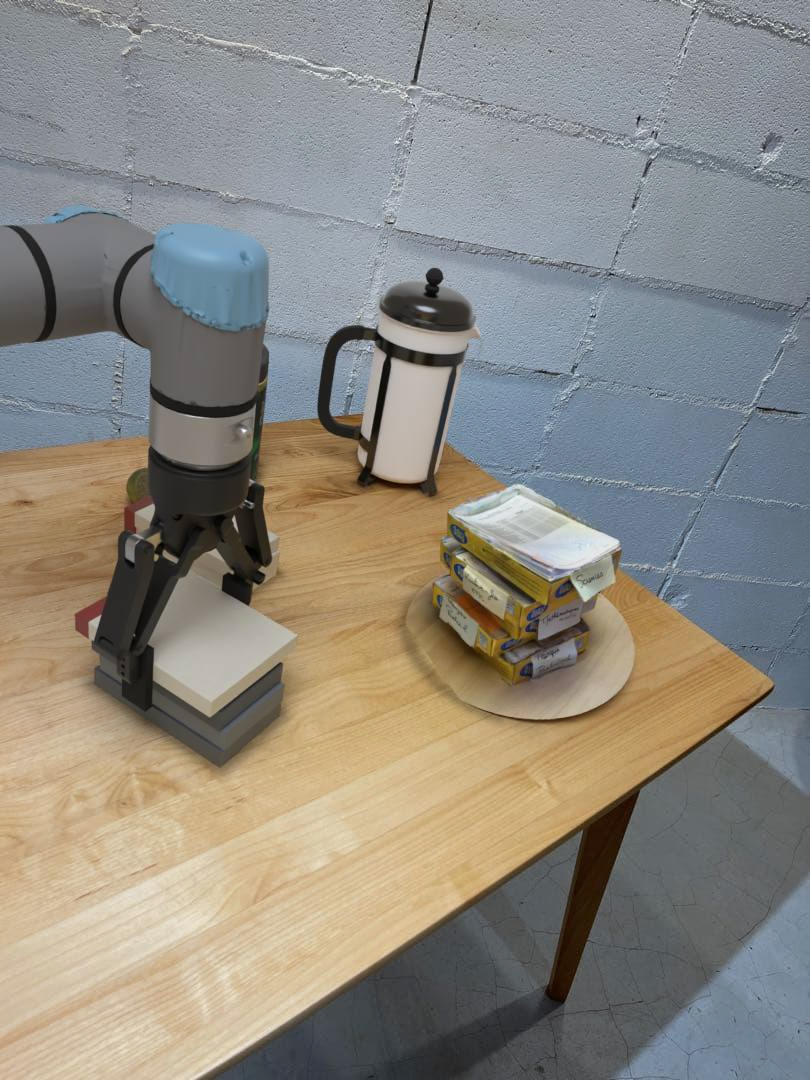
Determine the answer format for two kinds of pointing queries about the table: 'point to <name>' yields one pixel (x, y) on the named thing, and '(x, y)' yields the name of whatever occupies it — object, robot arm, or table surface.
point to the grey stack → (194, 728)
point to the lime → (138, 485)
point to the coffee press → (406, 380)
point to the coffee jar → (259, 412)
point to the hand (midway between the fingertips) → (187, 666)
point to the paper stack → (524, 609)
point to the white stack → (208, 563)
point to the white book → (206, 644)
